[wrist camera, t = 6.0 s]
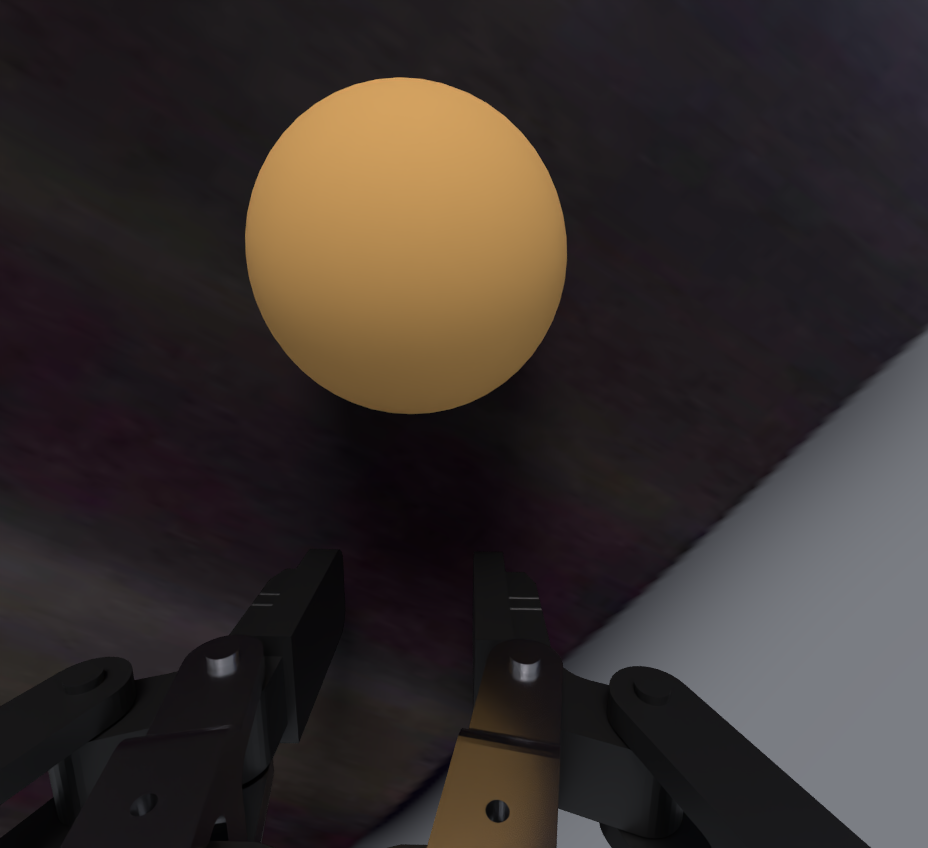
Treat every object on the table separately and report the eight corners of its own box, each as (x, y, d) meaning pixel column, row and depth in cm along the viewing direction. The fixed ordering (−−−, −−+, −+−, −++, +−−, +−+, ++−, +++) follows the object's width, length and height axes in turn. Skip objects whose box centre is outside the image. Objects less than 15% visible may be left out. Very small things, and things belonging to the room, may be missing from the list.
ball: (314, 389, 13) (197, 448, 7) (298, 142, 12) (145, -3, 6) (540, 389, 13) (591, 450, 7) (547, 141, 12) (614, -9, 6)
